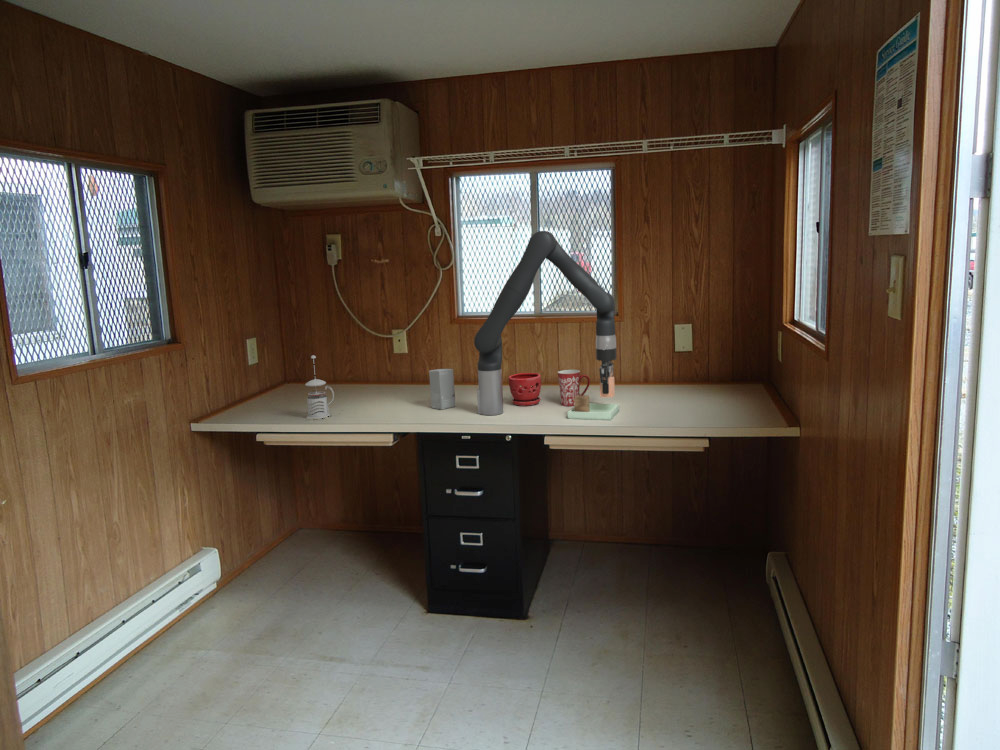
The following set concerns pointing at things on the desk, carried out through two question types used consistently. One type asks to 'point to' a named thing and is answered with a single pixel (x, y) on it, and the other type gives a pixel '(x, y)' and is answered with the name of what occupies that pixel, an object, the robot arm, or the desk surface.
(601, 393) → the terracotta block
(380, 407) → the desk surface
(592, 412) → the tray
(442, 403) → the skincare box
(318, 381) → the french press
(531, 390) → the plant pot
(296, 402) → the desk surface
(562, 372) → the mug
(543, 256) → the robot arm
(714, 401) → the desk surface
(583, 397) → the walnut block
